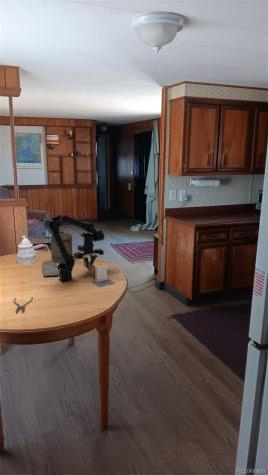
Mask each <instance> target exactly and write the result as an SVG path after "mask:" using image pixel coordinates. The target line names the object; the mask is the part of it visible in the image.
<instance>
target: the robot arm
mask: <svg viewBox="0 0 268 475" xmlns="http://www.w3.org/2000/svg"><path fill="white" fill-rule="evenodd" d="M64 223H66V224H69V225H72V226H75V227H77V228H78V229H80V230H81V231H83V232H82V233H80V237H82V238H83V243H82V245H80V244H78V245H77V246H76V249H77V252H74V253H73V254H72V255H71V254H68V253H67V250H66V248H65V246H64V243H63V241H62V239H61V236H60V234H59V230H60V227H62V226H63V224H64ZM43 226H44V228H45V229H46V231H47V232H48V234H50V237H51V236H52V238H53V240H54V243H55V245H56V247H57V249H58V252H59V254H60V263H58V265H57V268H58V270H59V276H58V277H59V278H58V281H59V282H61V283H66V282H67V283H68V282H71V281H73V279H72V278H73V269H74V266H75V262H76V260H75V259H77V260H81V259H82V260H83V263H84V262H85V264H86V267H88V261H89V258H90V261H89V262H90V263H91V264H92V265H94V263H95V261H96V259H97V258H98V257H99V256H102V255H105V252H104V250H103V249H101V248H95V249H94V247H95V244H94V243H95V242H101V241H104V240H105V233H104V232H103V229H98V230H97V229H96V228H95V225H94V224H93V223H90V222H87V221H81V220H78V219H75V218H73V217H70V216H68V215H66V214H62V213H61V214H58V215H57V216H53V217H52V218H48V219H45V221H44V223H43ZM98 255H99V256H98ZM88 256H89V257H88ZM86 267H85V268H86Z"/></svg>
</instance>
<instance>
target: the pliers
mask: <svg viewBox="0 0 268 475" xmlns="http://www.w3.org/2000/svg"><path fill="white" fill-rule="evenodd" d="M30 298H31V299H30V300H29V301H27V302H26V303H24V304H23V305H20V304H19V303H18V302H16V300H17V297H14V298H13V303H14V304H15V305H16V306H17V307H16V310H15V314H18V313H19V312H20V310H21V313H22V314H24V313H25V311H26V306H27V305H28V304H30V303H32V302H33V300H34V298H33V296H31V297H30Z"/></svg>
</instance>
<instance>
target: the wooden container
mask: <svg viewBox="0 0 268 475" xmlns="http://www.w3.org/2000/svg"><path fill="white" fill-rule="evenodd" d="M59 234H60V236H61V239H62V241H63V243H64V246H65V248H66V250H67V253H68V254H71V255H73V254H74V253H73V240H72V239H73V235H72V234H71V233H67V232H64V230H62V229H59ZM50 248H51V249H50V251H51V253H50V254H51V261H54V262H55V263H56V264H57V263H58V264H60V254H59V252H58V249H57V247H56V245H55V243H54V240H53V238H52V236H51V235H50Z"/></svg>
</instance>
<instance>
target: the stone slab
mask: <svg viewBox="0 0 268 475" xmlns="http://www.w3.org/2000/svg"><path fill="white" fill-rule="evenodd" d="M41 264H42V265H41V269H42V270H41V271H42V275H43V278H45V277H47V276H58V277H59V271H60V270H58V268H57V266H58V265H57V263H56V262H54V261H52V260H47V261H43V262H42V263H41Z"/></svg>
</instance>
